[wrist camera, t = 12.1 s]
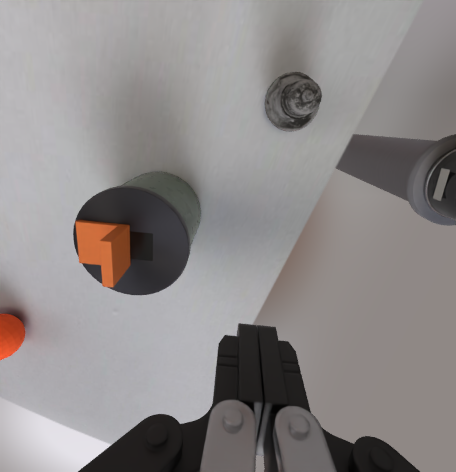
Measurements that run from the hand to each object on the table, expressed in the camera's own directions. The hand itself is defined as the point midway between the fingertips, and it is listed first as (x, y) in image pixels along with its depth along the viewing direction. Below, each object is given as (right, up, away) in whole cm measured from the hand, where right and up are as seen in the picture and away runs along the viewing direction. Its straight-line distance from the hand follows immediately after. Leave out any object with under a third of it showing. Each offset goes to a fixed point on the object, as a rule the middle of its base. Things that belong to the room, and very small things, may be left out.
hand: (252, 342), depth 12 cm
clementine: (-36, -10, +37) cm, 52 cm away
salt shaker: (+6, +20, +23) cm, 31 cm away
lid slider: (-13, +4, +17) cm, 22 cm away
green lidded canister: (-10, +8, +28) cm, 31 cm away
